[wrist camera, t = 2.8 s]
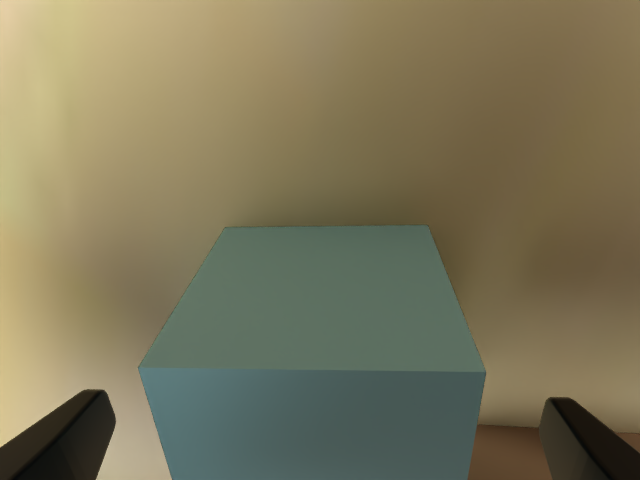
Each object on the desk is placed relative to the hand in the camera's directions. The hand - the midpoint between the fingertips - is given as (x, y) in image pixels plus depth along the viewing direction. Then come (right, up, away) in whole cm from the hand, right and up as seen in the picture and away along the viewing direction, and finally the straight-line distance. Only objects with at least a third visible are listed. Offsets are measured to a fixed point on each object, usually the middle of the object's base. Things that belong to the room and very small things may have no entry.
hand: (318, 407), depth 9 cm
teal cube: (0, +2, +3) cm, 3 cm away
